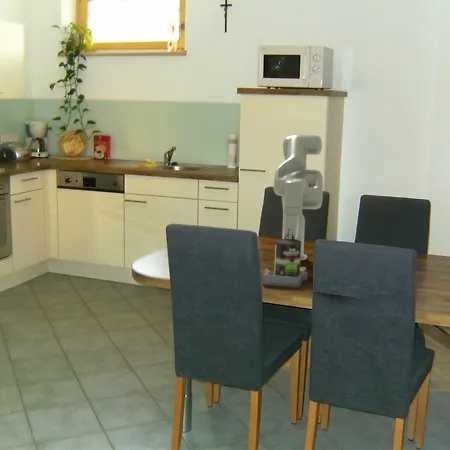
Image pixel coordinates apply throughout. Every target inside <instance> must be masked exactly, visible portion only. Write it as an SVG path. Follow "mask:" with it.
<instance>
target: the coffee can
mask: <svg viewBox="0 0 450 450" xmlns="http://www.w3.org/2000/svg"><path fill="white" fill-rule="evenodd" d="M274 241H275V242H274V243H275V244H274V245H275V247H274V250H275V251H274V269H273V270H274V272H273V273H274V274H273V275H279V276H292V277H299V275H300V267H301V261H300V254H301V241H299V240H295V239H282V238H280V239H279V238H278V239H276V240H274Z"/></svg>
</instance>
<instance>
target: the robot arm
mask: <svg viewBox="0 0 450 450" xmlns="http://www.w3.org/2000/svg"><path fill="white" fill-rule="evenodd" d="M322 147H323V142H322V138H321V137H320V135H315V134H313V135H312V134H295V135H289V136H286V137H285V138H284V140H283V142H282V150H283V151H282V152H283V157H284V161H283V162H281V164H280V165H279V166H278V167H277V168H276V170H275V173H274V177H273V178H274V180H273V191H274V194H275V195H277V196H281V203H282V238H281V239H295V240H299V241H301V254H300V262H302V261H305V260H307V258H308V256H307V254H306V253H304V250H305V247H304V245H305V224H306V219H305V216H304V214H303V210H318V209H320V208H321V207H322V205H323V197H324V196H323V194H324V192H323V189H324V182H323V181H324V179H323V174H322V172H321V171H319V170H316V169H307V155H316V156H319V155H320V154H321V152H322ZM285 176H286V177H285Z"/></svg>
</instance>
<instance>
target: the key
mask: <svg viewBox="0 0 450 450" xmlns="http://www.w3.org/2000/svg"><path fill="white" fill-rule="evenodd" d="M303 272H307V267H305V266H300V273H303Z"/></svg>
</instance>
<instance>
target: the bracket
mask: <svg viewBox="0 0 450 450" xmlns="http://www.w3.org/2000/svg"><path fill="white" fill-rule="evenodd" d="M270 272H271V271H270V270H269V269H268V268H264V274H262V279H261V280H262V281H261V282H262V283H261V285H262V286H268V287H269V286H270V287H280V288H281V287H282V288H291V289H292V288H294V289H300V287H301V285H302V283H303V282H304V281H307V280H308V271H304V272H303V273H300V275H299V277H292V276H279V275H274V274H271V273H270Z"/></svg>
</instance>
